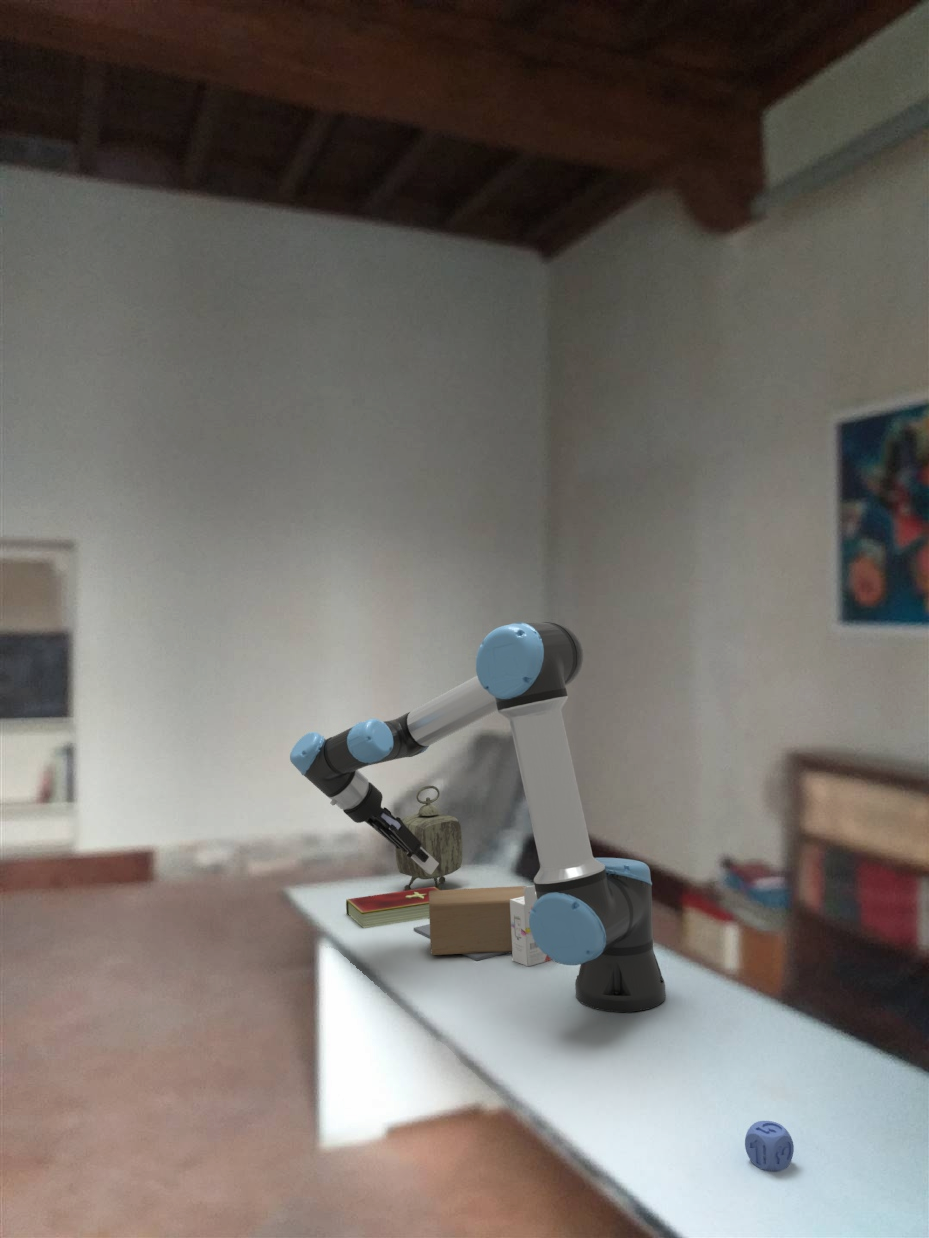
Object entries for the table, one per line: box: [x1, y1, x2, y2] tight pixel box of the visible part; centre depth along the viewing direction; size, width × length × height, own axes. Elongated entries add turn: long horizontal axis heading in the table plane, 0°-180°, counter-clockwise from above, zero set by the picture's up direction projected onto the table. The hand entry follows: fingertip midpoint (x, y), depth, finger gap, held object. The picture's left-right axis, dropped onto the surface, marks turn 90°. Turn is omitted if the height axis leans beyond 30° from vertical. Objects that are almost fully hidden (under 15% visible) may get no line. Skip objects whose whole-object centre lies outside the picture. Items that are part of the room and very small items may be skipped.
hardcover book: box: [345, 886, 439, 929], centre depth 225 cm, size 12×21×4 cm, turn 113°
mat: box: [413, 923, 512, 962], centre depth 208 cm, size 24×19×1 cm
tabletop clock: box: [394, 785, 463, 891], centre depth 245 cm, size 14×9×25 cm, turn 130°
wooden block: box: [429, 885, 528, 956], centre depth 200 cm, size 10×10×20 cm
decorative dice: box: [744, 1120, 795, 1172], centre depth 119 cm, size 4×4×4 cm
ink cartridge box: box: [510, 885, 553, 967], centre depth 193 cm, size 9×5×15 cm, turn 124°
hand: (433, 868), depth 204 cm, fingers closed
